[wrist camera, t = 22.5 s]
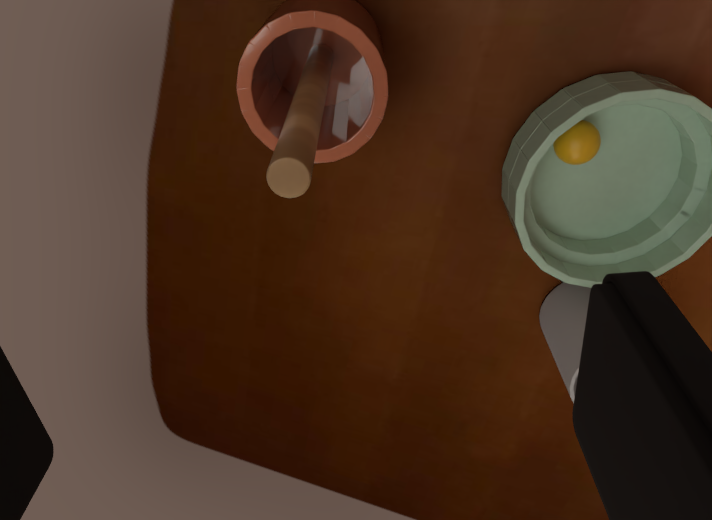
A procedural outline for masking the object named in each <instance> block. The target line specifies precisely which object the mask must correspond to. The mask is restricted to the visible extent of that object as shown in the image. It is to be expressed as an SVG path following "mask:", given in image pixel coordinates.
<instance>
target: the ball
mask: <svg viewBox="0 0 712 520" xmlns="http://www.w3.org/2000/svg"><path fill="white" fill-rule="evenodd" d="M600 144H601V137H600V133H599V131H598V129H597V128H596V127H595V126H594V125H593V124H592V123H590V122H588V121H585V120H581V121H579V122H578V123H577V124H575V125H574V126H573V127H571V128H570V129H569V130H567V131H566V132H565V133H563V134H562V135H560V136H559V137H558V138H557V139H556V140H555V142H554V143H553V146H554V151H555V153H556V155H557V156H558V158H559V159H560V160H562V161H563V162H565V163H567V164H571V165H580V164H584V163H586V162H588V161H590V160H591V159H592V158H593V157H594V156H595V155H596V154H597V152H598V150H599V148H600Z"/></svg>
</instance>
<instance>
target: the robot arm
mask: <svg viewBox="0 0 712 520" xmlns="http://www.w3.org/2000/svg"><path fill="white" fill-rule="evenodd" d="M573 424H574V429H575V433H576V436H577V439H578V441H579V444H580V446H581V449H582V451H583V454H584V456H585V459H586V461H587V464H588V466H589V469H590V471H591V474H592V477H593V479H594V482H595V484H596V487H597V489H598V492H599V494H600V497H601V499H602V502H603V504H604V507H605V509H606V512H607V514H608V517H609V520H712V352H711V351H710V349H709V348H708V347H707V345H706V344H705V343H704V341H703V340H702V339H701V337H700V336H699V335H698V334H697V332H696V331H695V330H694V328H693V327H692V326H691V324H690V323H689V322H688V320H687V319H686V318H685V316H684V315H683V314H682V313H681V311H680V310H679V309H678V307H677V306H676V305H675V303H674V302H673V301H672V299H671V298H670V297H669V296H668V294H667V293H666V292H665V290H664V289H663V288H662V286H661V285H660V284H659V282H658V281H657V280H656V278H655V277H654V276H653V275H652V274H651V273H650V272H647V271H638V272H624V273H610V274H607V275H605V277H604V279H603V282H602V284H595V285H593V286H592V288H591V291H590V296H589V303H588V310H587V317H586V324H585V331H584V337H583V344H582V351H581V358H580V365H579V372H578V378H577V385H576V392H575V399H574V406H573ZM52 458H53V444H52V441H51V439H50V437H49V435H48V433H47V431H46V430H45V428H44V426H43V424H42V422H41V420H40V418H39V417H38V415H37V413H36V411H35V409H34V407H33V406H32V404H31V402H30V400H29V398H28V396H27V395H26V393H25V391H24V389H23V387H22V386H21V384H20V382H19V380H18V378H17V376H16V374H15V373H14V371H13V369H12V367H11V365H10V363H9V361H8V360H7V358H6V356H5V354H4V352H3V350H2V349H1V347H0V520H20V519H21V517H22V515H23V513H24V512H25V510H26V508H27V506H28V504H29V502H30V500H31V499H32V497H33V495H34V493H35V492H36V490H37V488H38V486H39V484H40V482H41V481H42V479H43V477H44V475H45V473H46V471H47V470H48V468H49V466H50V464H51V461H52Z"/></svg>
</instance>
